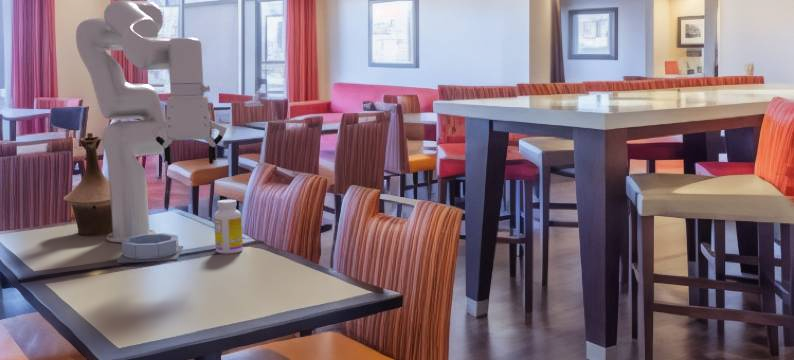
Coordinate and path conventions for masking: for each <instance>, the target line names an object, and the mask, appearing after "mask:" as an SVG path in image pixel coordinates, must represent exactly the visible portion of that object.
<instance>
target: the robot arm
mask: <svg viewBox="0 0 794 360" xmlns="http://www.w3.org/2000/svg"><path fill="white" fill-rule="evenodd" d="M163 22H164V19H163V13H162V10H161V8H160V7H159V6H158V5H157V4H155V2H152V1H149V0H146V1H145V0H115V1H113V2H111V3H109V4H108V5H106V7H105V9H104V11H103V18H100V17H99V18H89V19H85V20H83V21H81V22H80V23H79V24H78V26H77V27H76V29H75V30H76V31H75V43H76V47H77V48H76V49H77V51H78V54H79V57H80V59H81V61H82V62H83V64H84V66H85V67H86V70H87V71H88V73H89V76H90V79H91V82H92V86H93V90H94V93H95V94H94V95H95V96H96V100H97V104H98V107H99V110H100V113H101V115H102V116H103V117H104V118H105V119H108V120H112V121H113V120H114V121H116V120H117V121H116V122H112V123H110V124H108V125H107V126H106V127H105V128H104V130H103V131H102V135H101V136H102V137H101V140H102V145H103V149H104V153H105V157H106V162H107V169H108V170H107V171H108V180H109V185H110V201H111V216H112V233H110V234H108V235H106V240H107V241H108V242H111V243H121V244H122V241H123V240H124V239H125V238H127V237H132V236H137V235H141V234H156V231H154V230H152V229H150V221H149V219H150V218H149V217H150V215H149V204H148V203H149V200H148V185H147V183H148V182H147V172H146V170H145V167H143V165H142V163H140V161H139V160H138V159H137V157H141V156H142V157H143V156H151V155H159V154H163V153H164V155H163V156H164V162H166V163H167V166H171V165H172V164H173V148H172V146H171V145H172V143H173V141H186V140H187V141H189V140H193V141H195V140H205V142H207V144H209V146H208V163H209V164H210V165H213V164H214V161H217V150H216V149H217V148H216V146H217V145H218V144H219V143H220V142H221V141H222V140H223V139H224V135H225V134H226V132H227V127H225V126H224V125H221V124H220V123H217V122H215V121H213V120H212V115H211V108H210V102H209V99H208V96H205V93H207V92H210V91H211V87H210V85H205V84H204V75H203V74H204V72H203V71H204V70H203V52H202V51H203V49H202V43H201V40H200V39H198V38H196V37H158V35H159V33H160V31H161V29H162V27H163ZM107 51H122V52H123V54H124V57H125V58H126V60H127V61H129V62H130V64H132V65H133V66H135V67H137V68H138V69H141V70H146V71H159V70H169V87H170V97H168V98H167V104H166V116H165V114H164V110H163V106H162V103H161V99H160V96H159V93H158V92H157V90H156V89H155V88H154V87H153V86H152V85H150V84H147V83H129V82H128V81H127V80H126V77H125V73H124V69H123V68H122V65H120V63H119V62H118V61H117V60H116V59H115V58H114V57H113V56H111V55H110V54H109V53H108V52H107ZM135 119H137V120H135ZM138 119H139V120H138ZM119 120H122V121H119ZM124 120H126V121H124ZM213 129H214V130H218V135H217V136H216V137H215V138H214V137H212V134H213Z"/></svg>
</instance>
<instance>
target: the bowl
mask: <svg viewBox="0 0 794 360" xmlns="http://www.w3.org/2000/svg"><path fill="white" fill-rule="evenodd" d="M179 246H180V245H179V235H176V234H173V233H172V234H170V233H167V232H166V233H165V232H161V233H158V232H157V233H155V234H141V235H137V236H132V237H127V238H125V239H124V240H123V241H122V243H121V252H122V254H123V255H124V257H125V258H128V259H136V260H148V259H159V258H165V257H169V256H172V255H175V254H177V253H178V247H179ZM122 254H121V255H122Z"/></svg>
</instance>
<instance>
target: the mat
mask: <svg viewBox="0 0 794 360" xmlns="http://www.w3.org/2000/svg"><path fill="white" fill-rule="evenodd" d="M183 249H184V246H183V245H179V247H178V253H177V254H175V255H172V256H169V257H165V258H159V259H148V260H136V259H128V258H125V257H124V255H123V254H121V255H120V256H119V258H117V260H116V264H123V263H124V264H127V263H129V264H130V263H146V262H168V261H169V262H170V261H178V259H179V257H180V255H181V253H182V251H181V250H183ZM180 252H181V253H180Z"/></svg>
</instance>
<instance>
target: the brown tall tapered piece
mask: <svg viewBox="0 0 794 360" xmlns="http://www.w3.org/2000/svg"><path fill="white" fill-rule="evenodd" d="M78 140H79V143H80V144H81V145H82V147H83V148H84V150H85V170H84V173H83V176H82V178H81V180H80V182H79V183H78V184H77V186H75V188H73V189H72V190H71V191H70V192H69V193H67V195H65V196H64V197H63V200H64V201H65V202H67V203H69V204H70V205H71V207H72V210H73V213H74V218H75V223H76V225H77V234H78V235H80V236H84V237H85V236H86V237H100V236H107V235H108V234H110V233H112V216H111V201H110V185H109V178H107V177H106V176H105V174H103V172H102V170H101V167H100V163H99V156H98V152H97V150H98V148H99V145H101V144H100V143H101V140H102V137H100V136H94V135H93V133H92V132H87V134H86V137H81V138H79V139H78Z"/></svg>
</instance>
